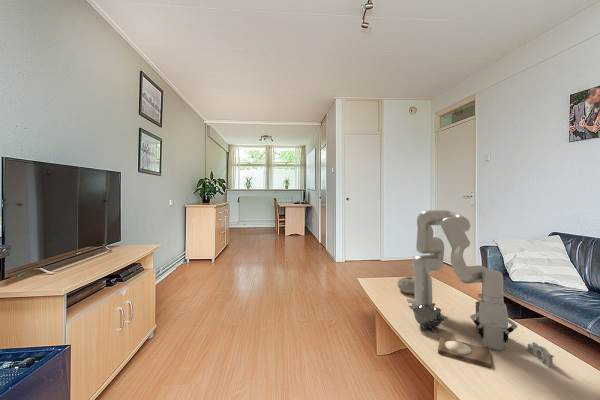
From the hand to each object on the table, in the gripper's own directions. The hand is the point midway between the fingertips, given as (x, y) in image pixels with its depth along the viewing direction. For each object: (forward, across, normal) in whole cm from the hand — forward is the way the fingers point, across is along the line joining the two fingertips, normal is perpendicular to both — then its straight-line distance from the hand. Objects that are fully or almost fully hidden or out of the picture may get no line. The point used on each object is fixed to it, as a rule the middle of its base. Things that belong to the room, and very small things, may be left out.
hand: (493, 338), depth 111 cm
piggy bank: (+4, -26, +4) cm, 27 cm away
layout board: (+3, -11, -12) cm, 17 cm away
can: (+4, 0, 0) cm, 4 cm away
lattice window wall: (+4, +15, -1) cm, 16 cm away
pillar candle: (+4, -1, +13) cm, 14 cm away
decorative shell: (+4, -42, +53) cm, 68 cm away
